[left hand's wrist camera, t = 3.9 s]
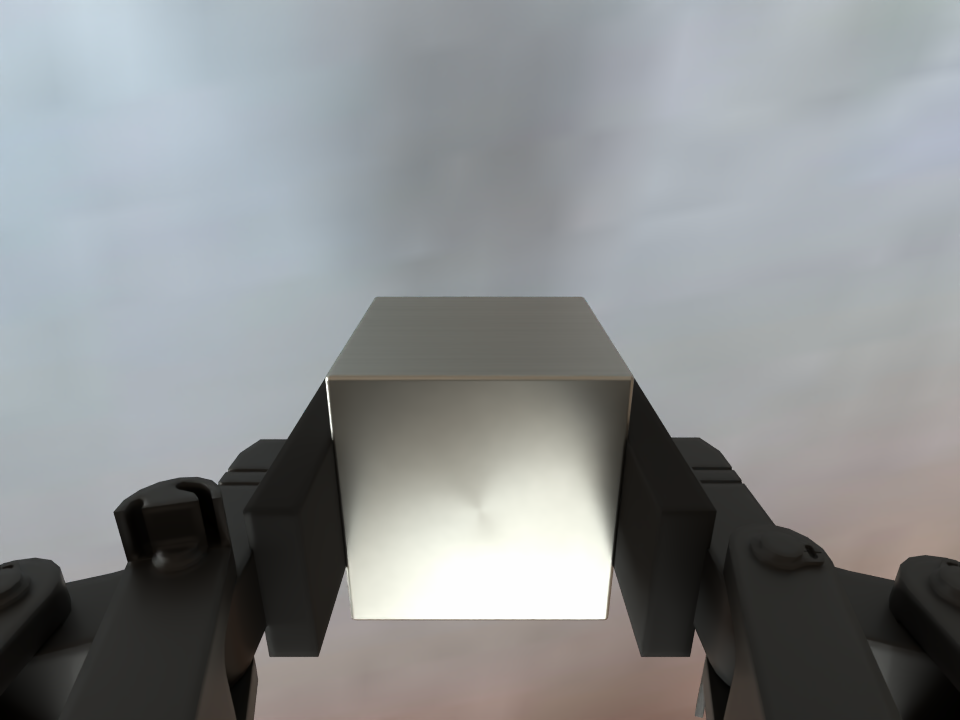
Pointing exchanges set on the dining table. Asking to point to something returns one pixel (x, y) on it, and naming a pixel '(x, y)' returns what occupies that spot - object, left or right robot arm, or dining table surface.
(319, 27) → the dining table surface
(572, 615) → the block
